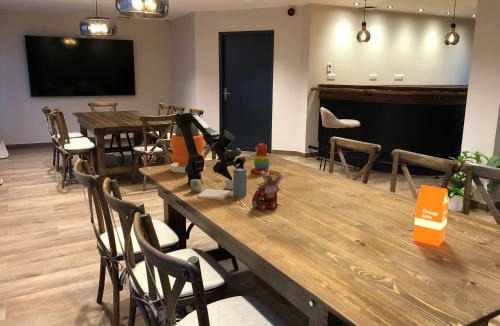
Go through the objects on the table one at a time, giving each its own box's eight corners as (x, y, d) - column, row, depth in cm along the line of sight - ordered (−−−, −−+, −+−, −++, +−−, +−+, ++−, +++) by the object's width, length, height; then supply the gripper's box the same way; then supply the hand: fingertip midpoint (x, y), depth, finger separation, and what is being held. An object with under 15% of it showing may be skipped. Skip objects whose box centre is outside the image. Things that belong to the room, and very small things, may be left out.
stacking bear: (249, 171, 257) (250, 142, 253) (264, 169, 261) (264, 141, 257) (257, 174, 247) (257, 145, 243) (272, 173, 251) (273, 144, 247)
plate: (197, 197, 200) (197, 195, 199) (206, 190, 212) (206, 188, 212) (223, 200, 196) (223, 198, 196) (231, 192, 209) (231, 190, 209)
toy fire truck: (248, 207, 186) (249, 185, 184) (273, 204, 191) (274, 182, 189) (255, 212, 180) (256, 189, 178) (280, 208, 185) (281, 186, 183)
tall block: (233, 195, 204) (233, 169, 201) (239, 193, 207) (239, 168, 205) (239, 197, 201) (240, 171, 198) (246, 195, 204) (246, 169, 202)
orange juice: (419, 234, 157) (424, 182, 152) (444, 240, 151) (450, 186, 147) (412, 240, 151) (417, 186, 147) (438, 246, 145) (444, 191, 141)
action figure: (274, 175, 233) (287, 180, 219) (261, 189, 230) (273, 195, 217) (263, 162, 229) (276, 167, 215) (250, 177, 226) (262, 182, 213)
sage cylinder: (189, 193, 208) (189, 181, 207) (192, 190, 213) (192, 179, 211) (198, 193, 207) (198, 182, 205) (202, 191, 211) (202, 179, 210)
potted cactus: (168, 167, 264) (167, 112, 257) (203, 165, 271) (202, 111, 264) (173, 175, 244) (171, 115, 237) (210, 172, 251) (209, 114, 244)
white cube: (225, 188, 217) (225, 179, 216) (228, 186, 221) (228, 177, 220) (234, 189, 216) (235, 180, 214) (237, 187, 220) (237, 177, 219)
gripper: (216, 145, 196) (233, 171, 191) (243, 141, 210) (259, 165, 205) (205, 159, 203) (221, 185, 198) (232, 154, 217) (248, 178, 212)
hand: (238, 178), depth 203 cm, fingers open, 9 cm apart
